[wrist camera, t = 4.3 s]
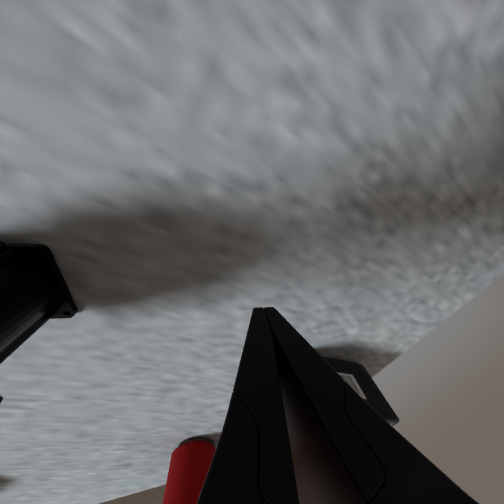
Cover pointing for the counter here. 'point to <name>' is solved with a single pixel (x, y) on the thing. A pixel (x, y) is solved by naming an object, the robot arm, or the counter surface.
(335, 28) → the counter surface
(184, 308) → the counter surface
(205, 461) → the beverage can
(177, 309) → the counter surface
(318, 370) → the robot arm
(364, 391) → the small box
